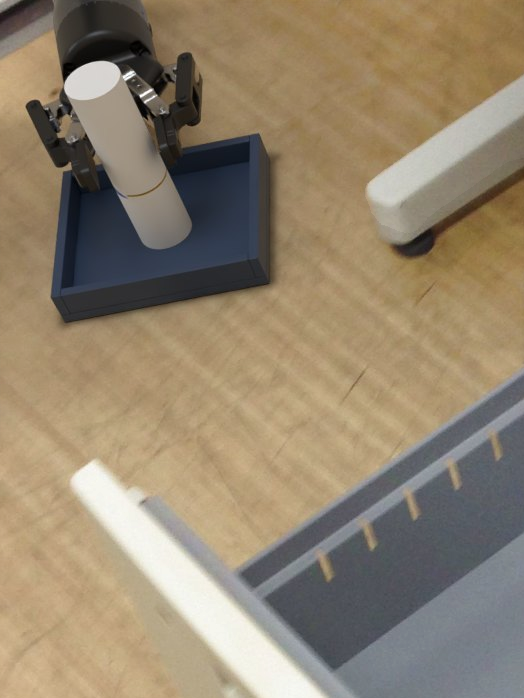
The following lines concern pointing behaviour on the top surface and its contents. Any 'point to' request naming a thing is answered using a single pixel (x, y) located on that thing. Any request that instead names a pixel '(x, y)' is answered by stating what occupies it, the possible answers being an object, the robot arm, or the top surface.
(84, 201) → the tray
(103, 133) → the tube
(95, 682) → the top surface
